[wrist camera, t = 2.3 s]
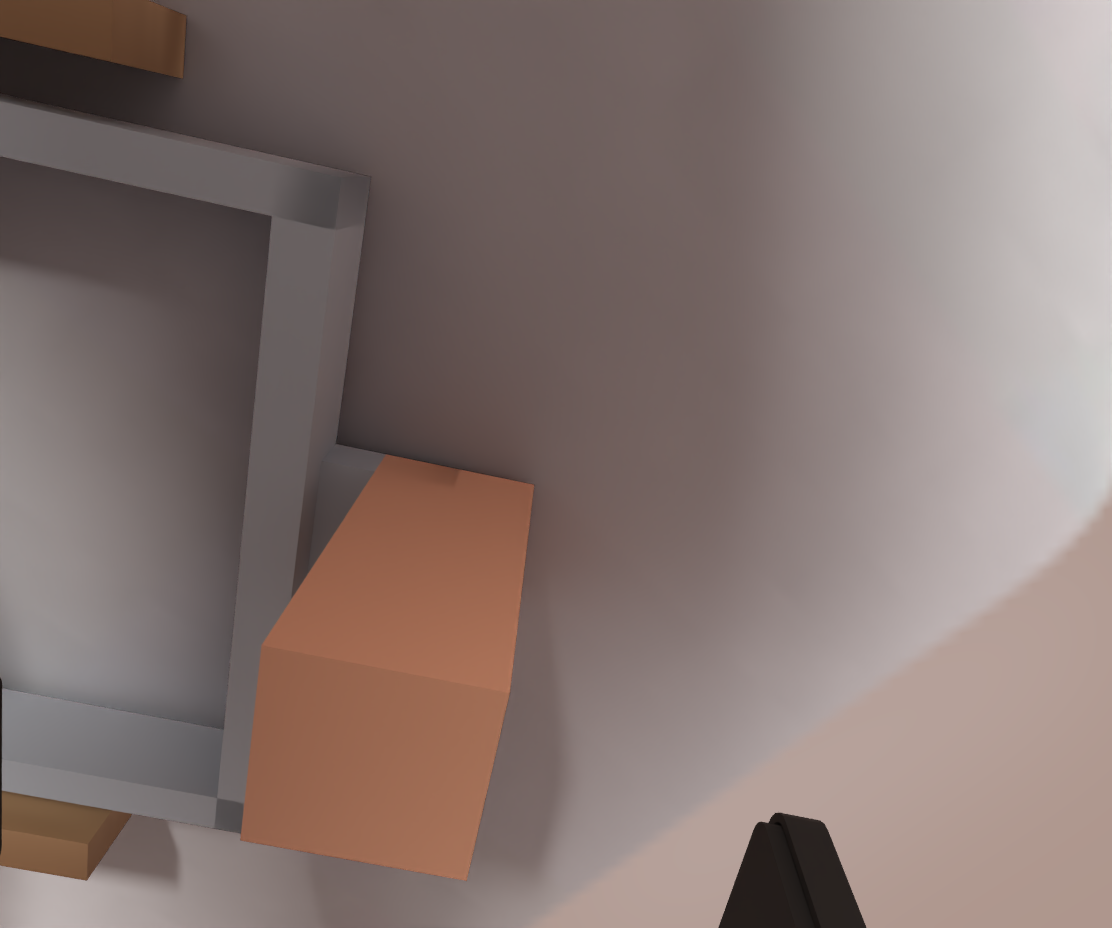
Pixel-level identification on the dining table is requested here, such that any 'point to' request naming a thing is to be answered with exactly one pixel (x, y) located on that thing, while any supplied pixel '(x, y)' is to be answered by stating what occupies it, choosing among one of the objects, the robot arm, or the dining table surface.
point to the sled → (306, 568)
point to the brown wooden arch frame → (154, 45)
